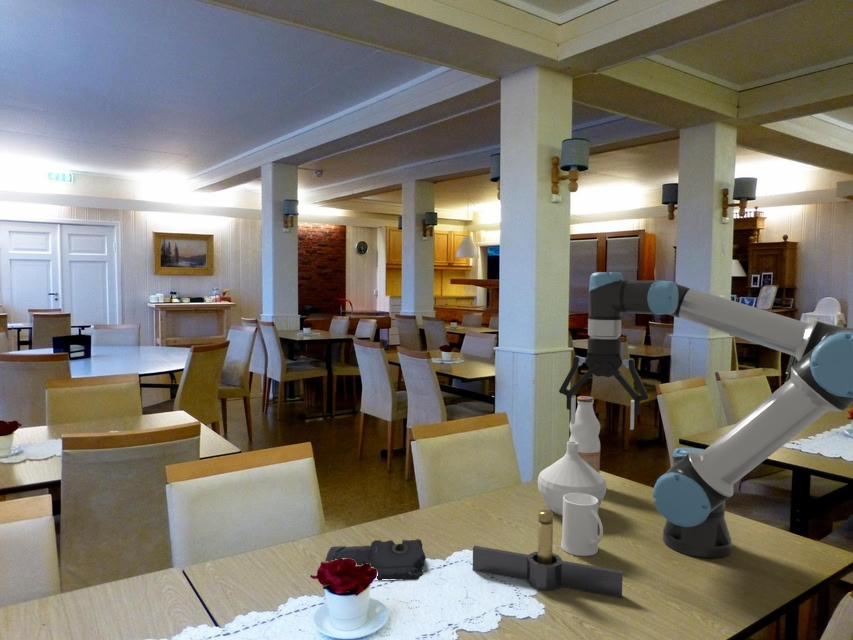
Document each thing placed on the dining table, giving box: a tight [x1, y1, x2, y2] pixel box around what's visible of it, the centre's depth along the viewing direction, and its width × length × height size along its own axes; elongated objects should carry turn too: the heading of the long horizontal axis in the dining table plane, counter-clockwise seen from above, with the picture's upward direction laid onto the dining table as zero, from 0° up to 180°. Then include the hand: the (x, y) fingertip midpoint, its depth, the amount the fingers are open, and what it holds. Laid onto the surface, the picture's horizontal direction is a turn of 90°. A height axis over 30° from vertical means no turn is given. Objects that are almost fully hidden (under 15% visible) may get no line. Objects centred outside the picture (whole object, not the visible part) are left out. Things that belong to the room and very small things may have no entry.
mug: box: [560, 493, 604, 557], centre depth 139 cm, size 12×8×12 cm
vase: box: [537, 440, 607, 517], centre depth 163 cm, size 18×18×19 cm
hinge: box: [472, 545, 624, 599], centre depth 124 cm, size 31×7×5 cm, turn 69°
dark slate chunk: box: [325, 538, 426, 581], centre depth 132 cm, size 15×22×5 cm
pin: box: [537, 509, 554, 565], centre depth 124 cm, size 3×3×15 cm
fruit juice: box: [568, 395, 601, 474], centre depth 182 cm, size 9×9×28 cm
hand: (601, 425), depth 142 cm, fingers open, 13 cm apart
